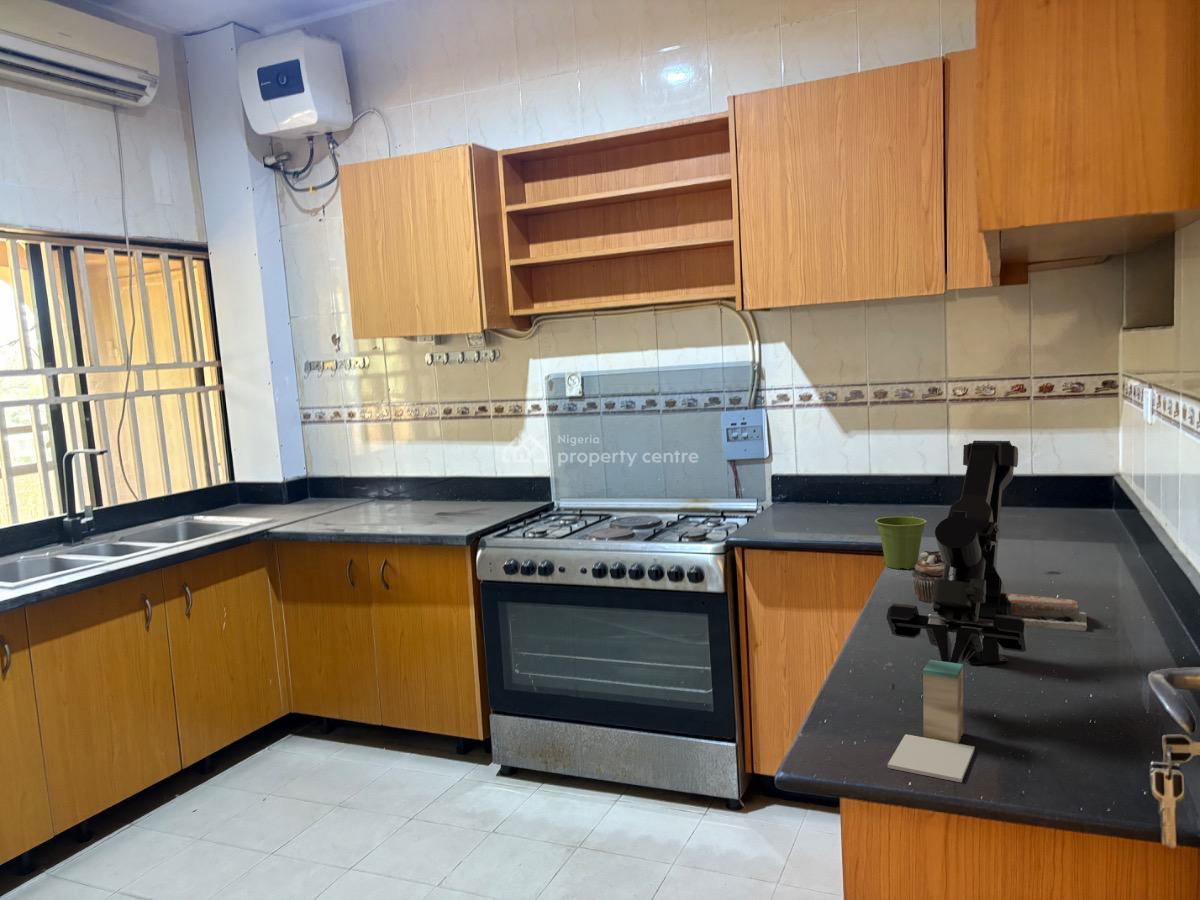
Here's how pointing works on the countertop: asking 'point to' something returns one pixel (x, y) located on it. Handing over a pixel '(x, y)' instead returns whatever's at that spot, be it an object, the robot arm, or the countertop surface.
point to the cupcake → (927, 575)
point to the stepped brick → (1048, 612)
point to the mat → (932, 758)
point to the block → (943, 701)
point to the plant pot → (901, 540)
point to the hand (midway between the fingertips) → (947, 679)
